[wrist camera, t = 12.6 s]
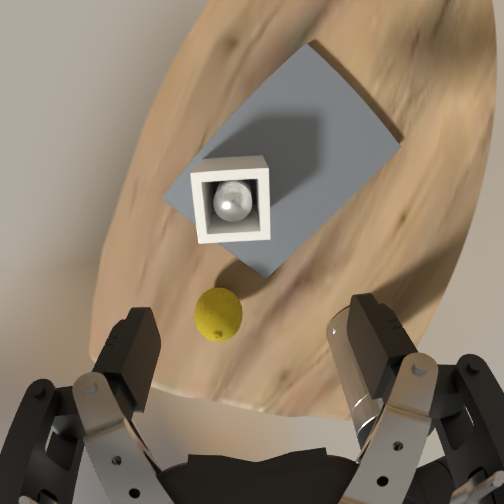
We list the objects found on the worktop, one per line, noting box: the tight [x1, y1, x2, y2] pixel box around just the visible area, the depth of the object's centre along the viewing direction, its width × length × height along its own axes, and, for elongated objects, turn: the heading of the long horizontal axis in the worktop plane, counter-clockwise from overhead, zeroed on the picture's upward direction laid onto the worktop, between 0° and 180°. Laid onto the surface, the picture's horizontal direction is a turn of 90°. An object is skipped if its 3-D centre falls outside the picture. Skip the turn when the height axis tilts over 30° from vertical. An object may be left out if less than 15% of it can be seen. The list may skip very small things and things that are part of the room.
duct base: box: [162, 43, 401, 279], centre depth 29 cm, size 15×22×2 cm
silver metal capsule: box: [213, 179, 252, 222], centre depth 26 cm, size 3×3×6 cm
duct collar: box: [190, 155, 270, 244], centre depth 26 cm, size 6×6×7 cm
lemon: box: [195, 287, 242, 342], centre depth 33 cm, size 6×6×8 cm
